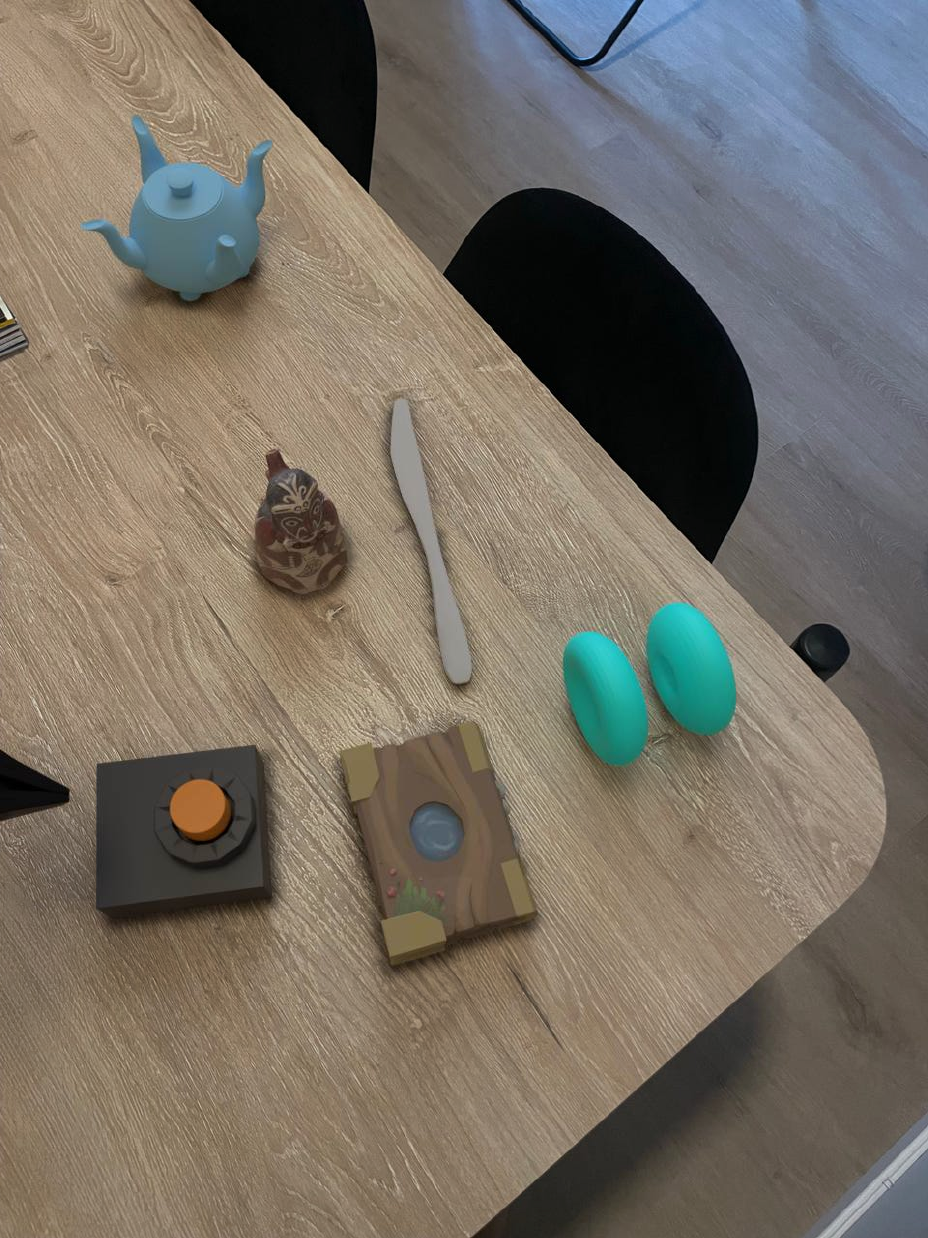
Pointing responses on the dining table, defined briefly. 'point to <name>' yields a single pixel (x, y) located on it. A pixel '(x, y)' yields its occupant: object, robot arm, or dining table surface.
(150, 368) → the dining table surface
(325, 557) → the figurine
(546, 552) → the dining table surface
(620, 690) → the donuts
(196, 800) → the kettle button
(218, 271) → the teapot
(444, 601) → the butter knife
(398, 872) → the book
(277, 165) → the dining table surface
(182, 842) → the black button base
